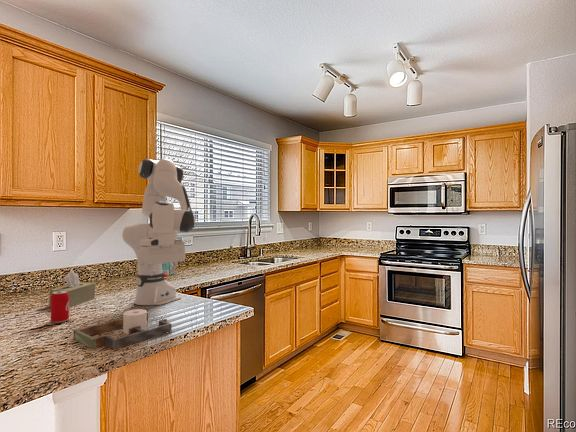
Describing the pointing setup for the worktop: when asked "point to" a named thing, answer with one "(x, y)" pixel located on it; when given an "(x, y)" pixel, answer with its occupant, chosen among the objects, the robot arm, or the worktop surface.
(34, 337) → the worktop surface
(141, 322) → the toilet paper
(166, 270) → the milk carton
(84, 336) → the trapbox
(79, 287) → the tissue box
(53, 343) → the worktop surface
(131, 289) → the worktop surface
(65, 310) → the beverage can
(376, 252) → the worktop surface
